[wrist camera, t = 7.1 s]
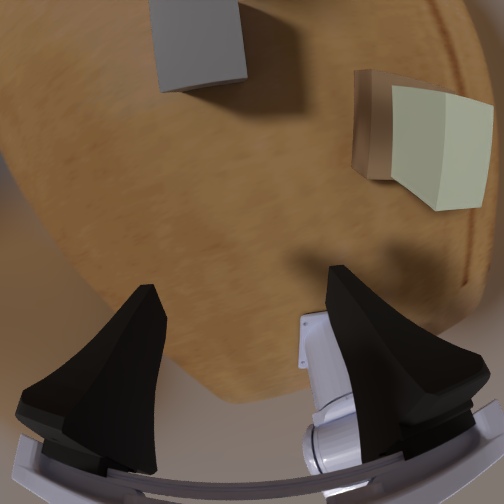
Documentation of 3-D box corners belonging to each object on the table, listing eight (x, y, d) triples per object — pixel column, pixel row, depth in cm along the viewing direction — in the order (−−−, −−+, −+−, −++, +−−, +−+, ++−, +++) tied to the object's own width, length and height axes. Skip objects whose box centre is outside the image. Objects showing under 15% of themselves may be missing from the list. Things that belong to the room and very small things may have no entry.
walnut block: (423, 169, 18) (445, 183, 16) (349, 165, 18) (366, 179, 15) (430, 87, 14) (455, 91, 12) (351, 71, 14) (371, 69, 12)
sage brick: (435, 175, 15) (481, 207, 11) (390, 176, 15) (435, 211, 11) (439, 93, 12) (493, 106, 8) (391, 85, 12) (445, 92, 8)
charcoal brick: (244, 82, 14) (247, 77, 10) (181, 92, 14) (160, 92, 10) (234, 1, 11) (233, -29, 7) (170, 12, 11) (148, -12, 7)
